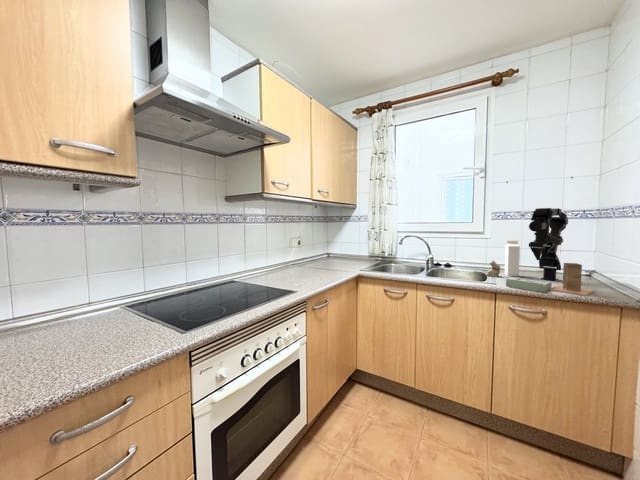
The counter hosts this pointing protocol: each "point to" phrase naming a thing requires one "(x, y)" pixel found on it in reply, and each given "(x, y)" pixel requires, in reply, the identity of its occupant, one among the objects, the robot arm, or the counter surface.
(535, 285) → the bay
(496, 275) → the chocolate bunny
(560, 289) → the tile
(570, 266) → the brown rectangular block
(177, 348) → the counter surface
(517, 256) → the milk
